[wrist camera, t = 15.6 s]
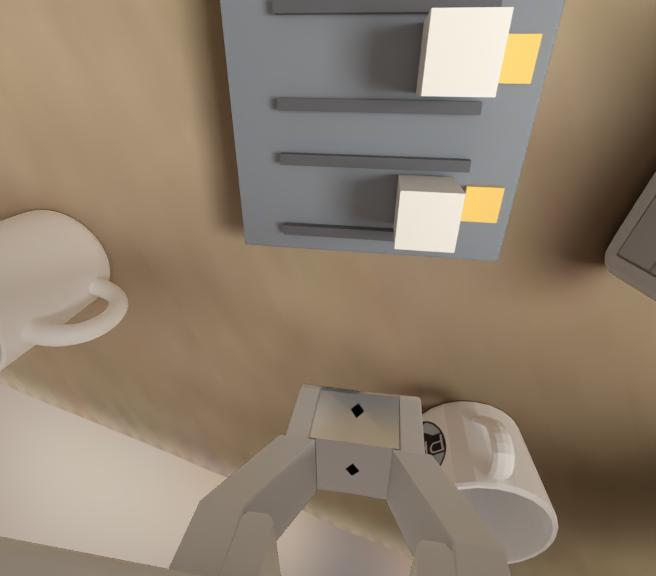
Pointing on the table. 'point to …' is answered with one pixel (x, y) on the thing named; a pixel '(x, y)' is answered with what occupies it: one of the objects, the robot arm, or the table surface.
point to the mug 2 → (493, 474)
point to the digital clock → (637, 245)
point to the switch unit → (371, 120)
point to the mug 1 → (52, 283)
